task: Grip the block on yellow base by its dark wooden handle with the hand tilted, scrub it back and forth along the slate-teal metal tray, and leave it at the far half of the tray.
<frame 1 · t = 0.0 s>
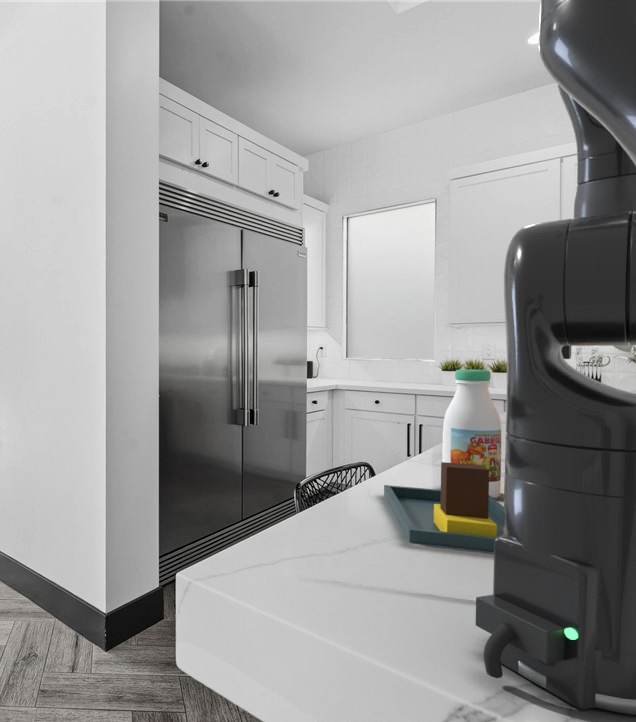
hand: (614, 359, 63), 22 cm above the table, tool pointing down, fingers open, 8 cm apart
block on yellow base: (463, 533, 66), resting on tray
tray: (452, 524, 71), on the table
milk bottle: (470, 494, 86), on the table
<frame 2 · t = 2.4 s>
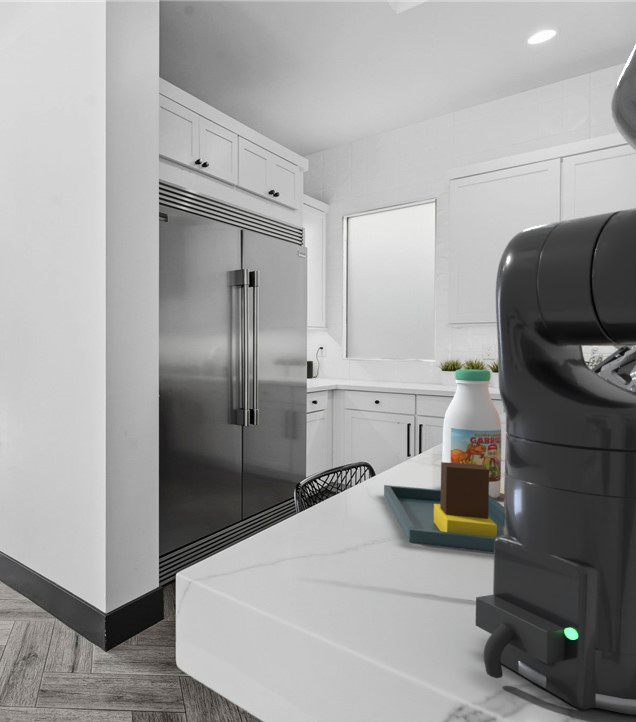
hand: (582, 416, 62), 16 cm above the table, tool tilted 45°, fingers open, 8 cm apart
nothing on the table moved.
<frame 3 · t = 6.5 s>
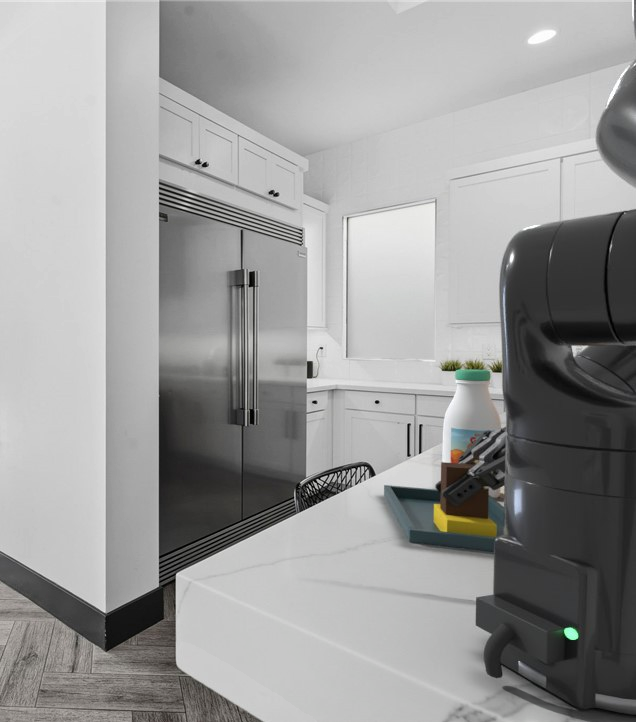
hand: (444, 496, 67), 5 cm above the table, tool tilted 45°, fingers closed on block on yellow base, 3 cm apart
block on yellow base: (463, 533, 66), resting on tray, touching gripper
everything else where it was.
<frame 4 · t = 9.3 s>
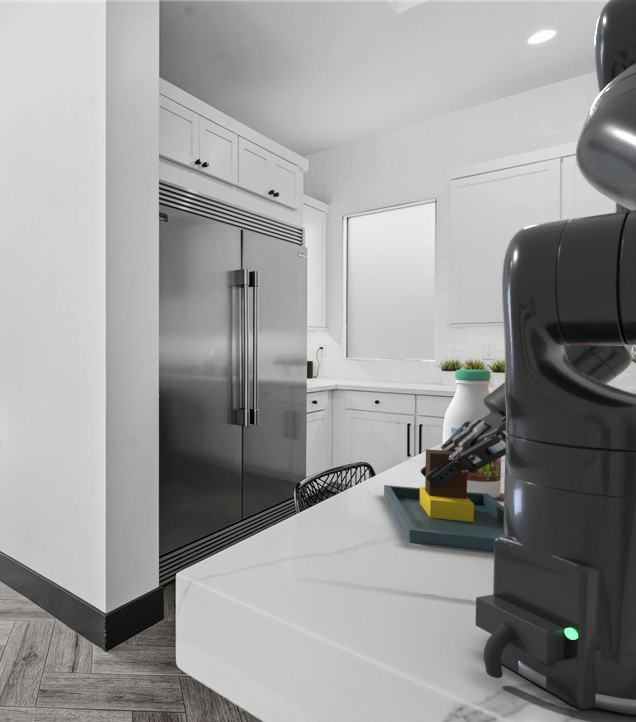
hand: (428, 479, 75), 5 cm above the table, tool tilted 45°, fingers closed on block on yellow base, 3 cm apart
block on yellow base: (445, 512, 75), point 1 cm above the table, touching gripper
everything else where it was.
when the fingers open (5 cm above the table, at t = 12.1 s): block on yellow base stays where it is, resting on tray.
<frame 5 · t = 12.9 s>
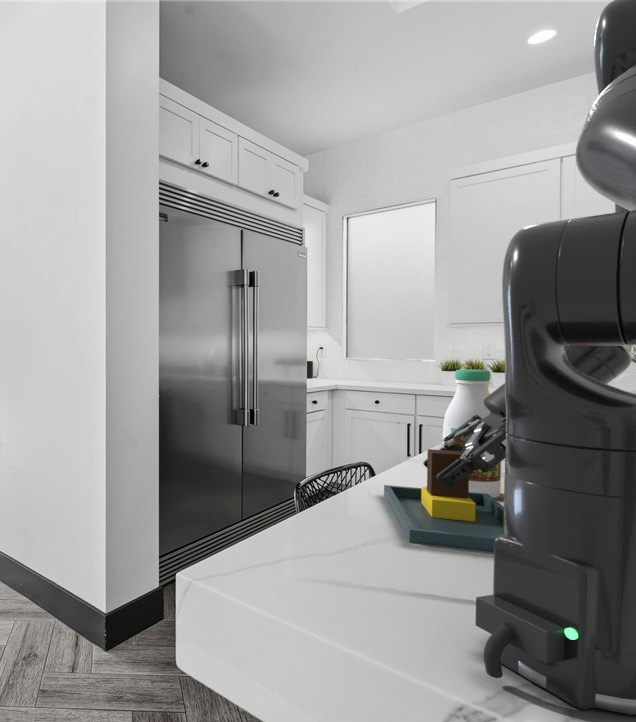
hand: (434, 475, 75), 6 cm above the table, tool tilted 45°, fingers open, 8 cm apart
block on yellow base: (446, 512, 75), resting on tray
everything else where it was.
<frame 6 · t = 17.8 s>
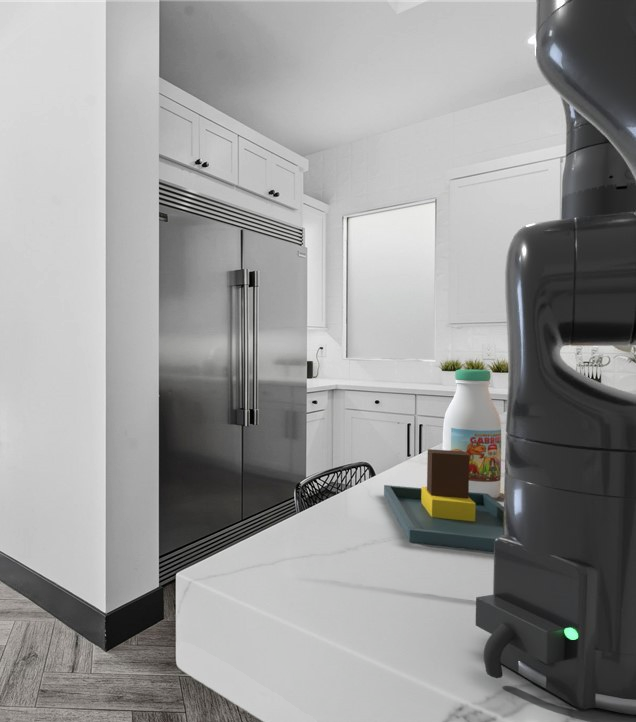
hand: (600, 327, 63), 26 cm above the table, tool pointing down, fingers open, 8 cm apart
nothing on the table moved.
at the end: block on yellow base 0.3 cm from the target spot in the tray, point 0.5 cm above the tray's base; block on yellow base moved 9.1 cm from its start; block on yellow base tilted 0° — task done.
